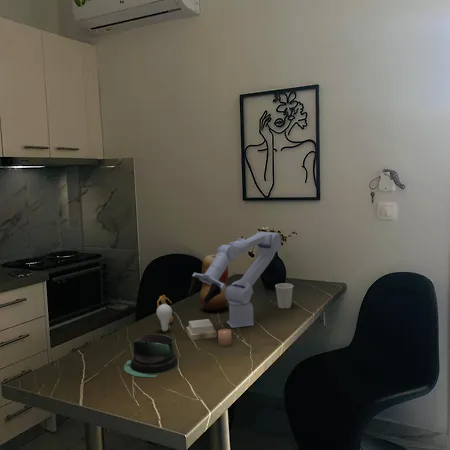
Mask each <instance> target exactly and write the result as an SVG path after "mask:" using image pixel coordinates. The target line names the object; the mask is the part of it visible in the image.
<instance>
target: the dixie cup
mask: <svg viewBox="0 0 450 450" xmlns="http://www.w3.org/2000/svg"><path fill="white" fill-rule="evenodd" d="M274 287H275V291H276V293H275V294H276V298H277V301H276V302H277V307H278V308H279V309H282V310H283V309H284V308H286V309H291V307H292V301H293V300H292V298H293V292H294V291H293V289H294V285H293V284H292V283H287V282H286V283H285V282H284V283H282V282H281V283H277V284H275V286H274Z"/></svg>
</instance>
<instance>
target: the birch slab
mask: <svg viewBox="0 0 450 450" xmlns="http://www.w3.org/2000/svg"><path fill="white" fill-rule="evenodd" d="M185 329H186V330H185V332H186V334H187V335H188V337H189V339H190V341H196V340H202V339H203V340H204V339H212V338H217V337H218V331H217V330H216V329H215V328H214V327H213V332H206V333H198V334H192V332H191V330H190V328H189V326H185Z"/></svg>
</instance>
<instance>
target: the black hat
mask: <svg viewBox="0 0 450 450" xmlns="http://www.w3.org/2000/svg"><path fill="white" fill-rule="evenodd" d="M174 348H175V346H174V339H173V338H172V337H171V336H168V335H163V334H146V335H142V336H140V337H138V338H136V339H134V342H133V357H132V359H130V360H127V361H126V363H125V364H124V365H123V370H124V371H125V372H126V373H127V374H129V375H131V376H135V377H142V378H143V377H144V378H156V377H158V375H159V374H163V373H167V372H169V371H172V370H173V369H175V368H176V367H177V365H178V357H177V355H176V354H175V349H174ZM180 369H181V368H180V367H179V368H177V371H179V370H180Z"/></svg>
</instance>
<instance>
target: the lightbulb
mask: <svg viewBox="0 0 450 450" xmlns="http://www.w3.org/2000/svg"><path fill="white" fill-rule="evenodd" d="M172 314H173V310H172V307H171V306H170V305H168V304H162V303H161V304H159V307H158V306H157V308H156V316H157V317H158V319H159V323H160V326H161V331H163V332H167V331H169V324H170V323H169V319H170V317H171V315H172ZM172 316H173V315H172Z"/></svg>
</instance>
